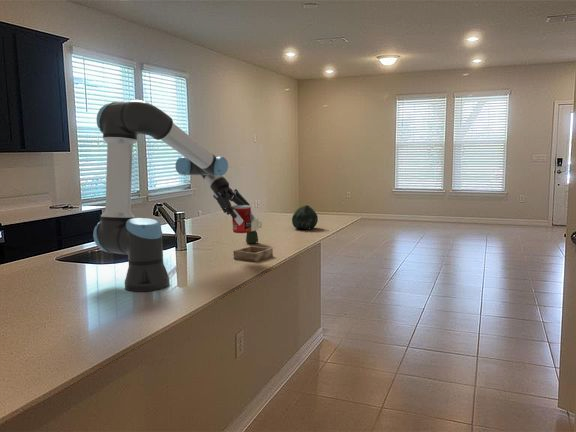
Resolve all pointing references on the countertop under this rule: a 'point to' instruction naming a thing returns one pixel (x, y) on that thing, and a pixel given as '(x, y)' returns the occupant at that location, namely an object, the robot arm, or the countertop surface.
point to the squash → (304, 218)
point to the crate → (253, 253)
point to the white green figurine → (253, 231)
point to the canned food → (245, 214)
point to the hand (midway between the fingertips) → (247, 221)
